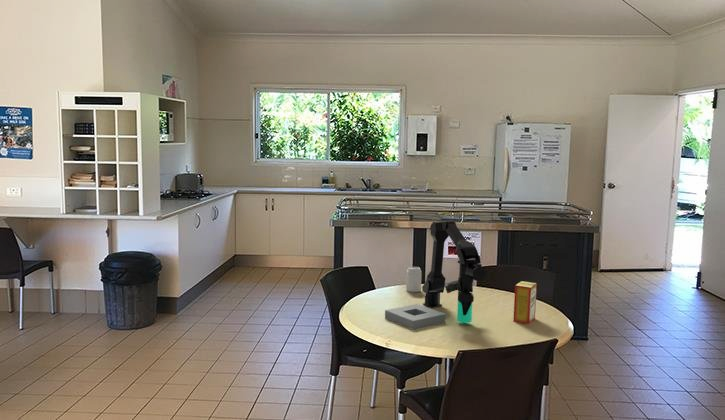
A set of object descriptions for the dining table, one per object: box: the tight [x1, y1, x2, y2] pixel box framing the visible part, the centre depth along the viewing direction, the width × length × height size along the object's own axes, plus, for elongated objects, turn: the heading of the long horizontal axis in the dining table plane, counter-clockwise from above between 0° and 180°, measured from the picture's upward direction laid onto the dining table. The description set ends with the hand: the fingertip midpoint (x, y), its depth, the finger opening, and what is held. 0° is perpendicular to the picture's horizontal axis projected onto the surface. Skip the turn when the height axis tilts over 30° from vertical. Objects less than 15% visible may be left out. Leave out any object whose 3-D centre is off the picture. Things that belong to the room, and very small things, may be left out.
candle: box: [456, 300, 473, 324], centre depth 242 cm, size 6×6×12 cm
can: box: [405, 266, 422, 293], centre depth 296 cm, size 8×8×12 cm
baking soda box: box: [513, 280, 538, 325], centre depth 250 cm, size 10×6×16 cm
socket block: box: [384, 303, 447, 330], centre depth 247 cm, size 18×18×4 cm
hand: (464, 312), depth 243 cm, fingers closed on candle, 7 cm apart
